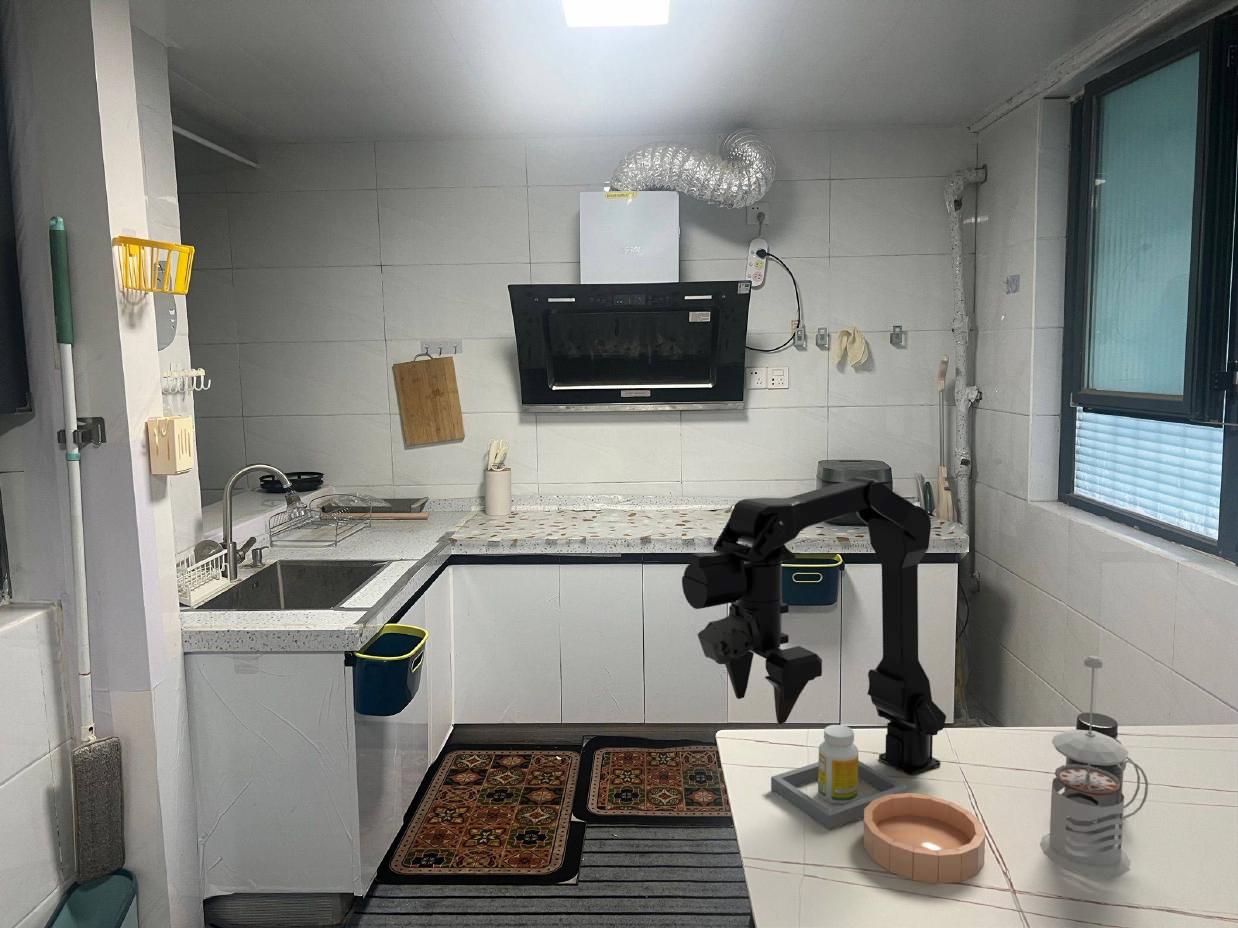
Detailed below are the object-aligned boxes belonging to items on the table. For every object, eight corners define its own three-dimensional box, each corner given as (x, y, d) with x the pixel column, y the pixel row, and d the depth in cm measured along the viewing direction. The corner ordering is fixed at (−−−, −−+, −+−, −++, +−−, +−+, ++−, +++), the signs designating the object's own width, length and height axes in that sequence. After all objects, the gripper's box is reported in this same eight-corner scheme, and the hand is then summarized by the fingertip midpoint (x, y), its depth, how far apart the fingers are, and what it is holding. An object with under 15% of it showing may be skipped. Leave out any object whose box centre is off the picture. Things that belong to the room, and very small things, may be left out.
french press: (1025, 830, 109) (1033, 642, 106) (1117, 830, 109) (1127, 641, 106) (1063, 877, 100) (1072, 671, 96) (1164, 876, 99) (1176, 670, 96)
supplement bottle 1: (811, 796, 119) (811, 731, 118) (830, 782, 123) (830, 718, 122) (846, 810, 115) (846, 742, 114) (864, 794, 119) (865, 729, 118)
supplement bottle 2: (1057, 804, 115) (1060, 720, 114) (1072, 785, 120) (1075, 704, 119) (1114, 822, 111) (1119, 734, 109) (1127, 801, 116) (1131, 717, 114)
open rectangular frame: (845, 765, 128) (845, 753, 127) (907, 801, 117) (907, 787, 117) (771, 789, 121) (771, 776, 121) (829, 829, 111) (829, 815, 110)
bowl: (918, 807, 115) (919, 783, 115) (1008, 860, 103) (1009, 833, 103) (840, 837, 109) (840, 811, 108) (926, 896, 96) (927, 867, 96)
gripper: (670, 588, 116) (672, 698, 118) (750, 625, 100) (751, 751, 101) (738, 577, 121) (739, 682, 123) (825, 610, 104) (824, 731, 106)
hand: (760, 709), depth 113 cm, fingers open, 9 cm apart
